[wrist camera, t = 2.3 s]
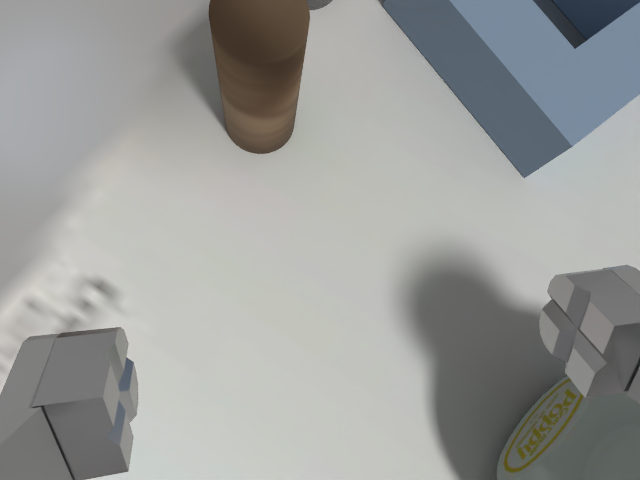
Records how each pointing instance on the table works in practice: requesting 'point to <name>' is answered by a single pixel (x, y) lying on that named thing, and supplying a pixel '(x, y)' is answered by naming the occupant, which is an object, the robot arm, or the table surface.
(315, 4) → the short pin
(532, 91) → the collar block
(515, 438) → the air freshener
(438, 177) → the table surface
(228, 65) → the long pin
